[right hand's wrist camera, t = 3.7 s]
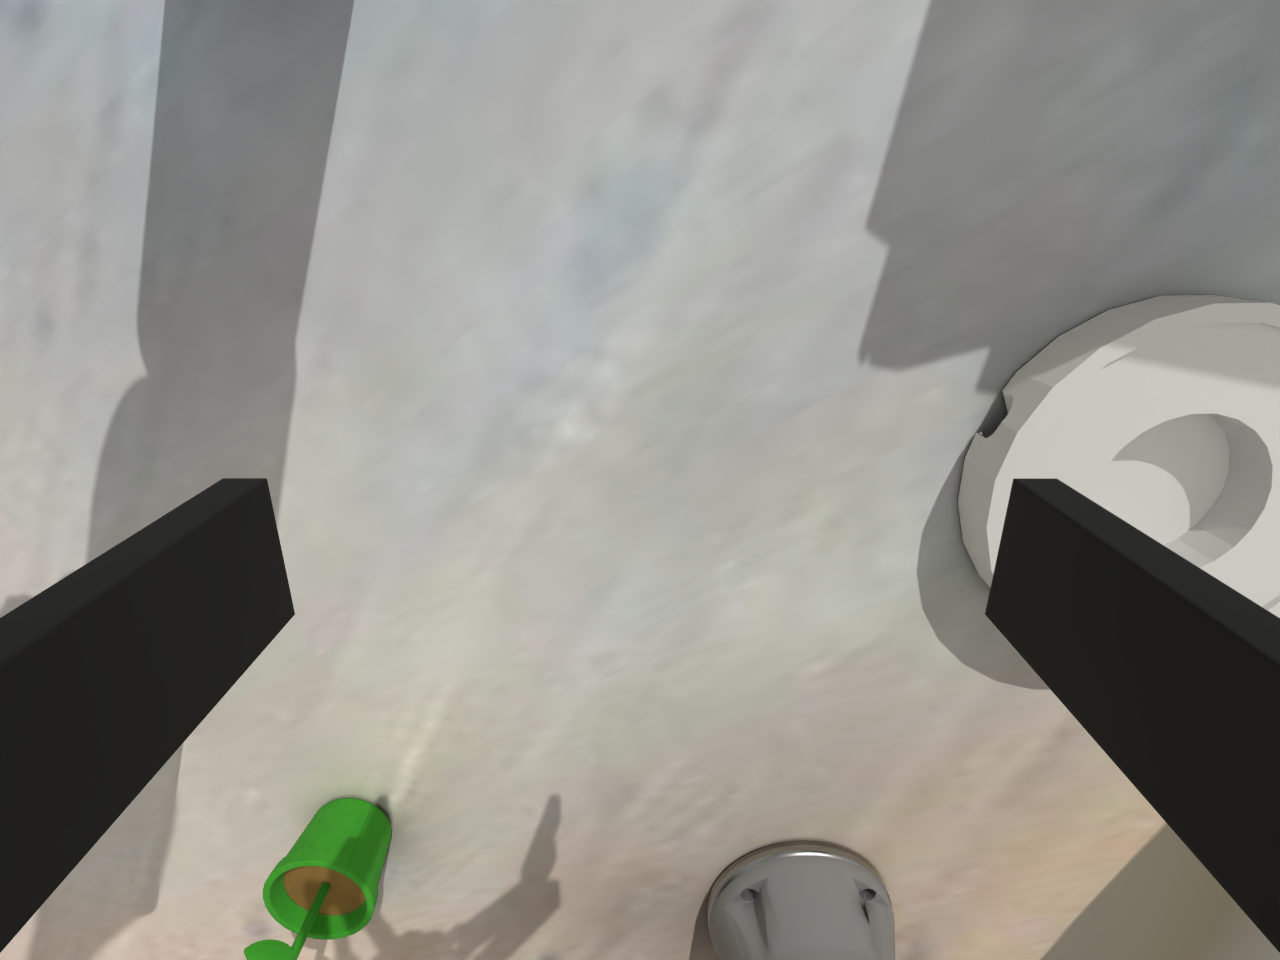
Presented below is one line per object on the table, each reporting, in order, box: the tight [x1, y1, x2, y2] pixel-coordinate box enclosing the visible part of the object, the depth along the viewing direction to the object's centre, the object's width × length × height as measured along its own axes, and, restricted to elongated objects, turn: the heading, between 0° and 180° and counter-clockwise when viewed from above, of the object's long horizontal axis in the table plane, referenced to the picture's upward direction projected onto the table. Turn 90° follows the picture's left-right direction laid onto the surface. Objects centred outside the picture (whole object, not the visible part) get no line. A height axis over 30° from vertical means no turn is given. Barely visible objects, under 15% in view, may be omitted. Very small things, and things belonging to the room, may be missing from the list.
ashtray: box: [958, 295, 1280, 618], centre depth 43 cm, size 23×23×4 cm
